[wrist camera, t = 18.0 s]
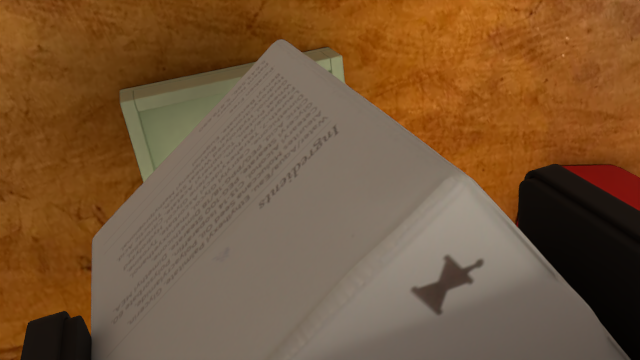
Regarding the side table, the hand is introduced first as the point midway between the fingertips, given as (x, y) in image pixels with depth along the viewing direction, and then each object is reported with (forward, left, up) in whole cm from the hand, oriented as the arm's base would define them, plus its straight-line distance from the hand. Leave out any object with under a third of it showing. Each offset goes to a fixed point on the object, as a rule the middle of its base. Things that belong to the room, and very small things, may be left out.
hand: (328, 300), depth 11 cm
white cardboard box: (0, 0, -4) cm, 4 cm away
